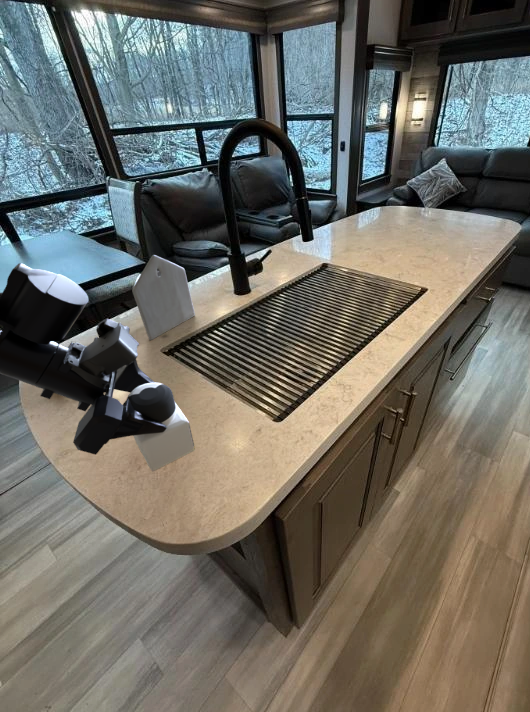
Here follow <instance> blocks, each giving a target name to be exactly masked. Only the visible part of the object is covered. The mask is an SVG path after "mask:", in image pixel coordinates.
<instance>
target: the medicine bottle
mask: <svg viewBox="0 0 530 712" xmlns="http://www.w3.org/2000/svg"><path fill="white" fill-rule="evenodd" d="M127 399H129V401H130V403H131V405H132V407H133V409H134V410H135V411H137V412H139V413H142V414H144V415H146V416H148V417H150V418H153V419H155V420H157V421H159V422H161V423H163V424H164V425H166V426H167V429H166V430H165V431H164V432H162V433H153V434H143V435H134V436H132V437H133V439H134V441H135V444H136V445H137V447H138V449H139V451H140V453H141V455H142V457H143V458H144V460H145V462H146V464H147V466H148V468H149V470H150V471H151V472H156V471H157V470H160V469H161V468H163V467H166V466H167V465H170V464H172V463H173V462H175V461H177V460H180V458H183V457H185V456H187V455H189V454H191V453H193V452H195V450H196V447H195V442H194V437H193V433H192V429H191V424H190V421H189V420H188V418H187V416H185V414H184V413H183V411H182V409H180V407H179V405H178V404H177V403H176V401H175V396H174V394H173V390H172V389H171V387H170V386H168V385H167V384H164V383H161V382H155V383H146V384H143V385H140V386H138V387H137V388H135V389H134V390H133V391H132V392H131V393H130V392H129V394H128V396H127V397H126V400H127Z"/></svg>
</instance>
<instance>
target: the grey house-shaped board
mask: <svg viewBox="0 0 530 712" xmlns="http://www.w3.org/2000/svg"><path fill="white" fill-rule="evenodd" d="M131 290H132V295H133V297H134V301H135V303H136V306H137V309H138V312H139V315H140V317H141V320H142V324H143V326H144V330H145V333H146V335H147V338H148V340H149V341H153V340H154V339H156V338H158V337H160V336H161V335H163V334H165V333H167V332H169V331H170V330H172V329H174V328H175V327H177V326H179V325H181V324H183V323H185V322H186V321H188V320H190V319H191V318H193V317H195V316H196V313H195V308H194V304H193V300H192V295H191V290H190V287H189V282H188V278H187V274H186V270H185V268H184V267H182V266H180V265H178V264H176V263H174V262H172V261H170V260H168V259H166V258H163V257H161V256H158V255H156V254H153V255H151V257H150V258H149V260H148V261H147V263H146V265H145V267H144V268H143V270H142V272H141V273H139V274H138V276H137V278H136V280H135V282H134V285H133V286H132V289H131Z"/></svg>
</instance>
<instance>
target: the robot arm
mask: <svg viewBox="0 0 530 712" xmlns="http://www.w3.org/2000/svg"><path fill="white" fill-rule="evenodd" d="M88 303H89V295H88V294H87V292H86V291H85V290H84V289H83V288H82V287H81V286H80V285H79V284H77V283H76V282H75V281H73V280H72V279H70V278H68V277H67V276H65V275H62V274H61V273H58V274H57V273H55V272H51V271H49V270H47V269H40V268H31V267H29V266H27V265H26V264H24V263H21V262H19V263H17V264H16V265H15V266H14V268H12V269H11V271H10V272H9V275H8V277H7V281H6V285H5V287H4V289H3V291H2V292H0V326H3V328H2V330H0V375H2V376H6V377H8V378H11V379H14V380H17V381H19V382H22V383H25V384H28V385H30V386H33V387H36V388H39V389H42V391H41V393H40V397H41V398H43V399H44V398H45V399H48V400H50V399H52V397H53V395H54V394H55V395H59V396H62V397H64V398H67V399H70V400H73V401H75V402H78V404H77V410H79V411H83V412H85V413H84V415H83V416H82V418H80V420H79V421H78V423H77V427H76V431H75V434H74V439H73V442H72V443H73V445H74V446H75V448H76V449H77V450H78V451H80V452H83V453H88V454H91V455H97V454H98V453H99V452H100V451H101V449H102V448H103V447H104V445H107V444H108V443H109V441H110V440H116V439H121V438H126V437H133V436H134V435H143V434H153V433H162V432H164V431H165V430H166V429H167V426H166V425H164V424H163V423H161V422H159V421H157V420H155V419H153V418H150V417H148V416H146V415H144V414H142V413H139V412H137V411H135V410H134V409H133V407H132V405H131V403H130V401H129V399H127V398H126V400H125V401H124V402H123V404H122V402H120V400H119V399H118V398H115V397H114V391H115V390H116V391H120V392H125V393H129V394H130V393H131V392H132V391H133V390H134V389H135V388H137V387H138V386H140V385H143V384H146V383H156V382H155V381H154V380H153V379H151V377H149V376H148V375H147V374H146V373H145V372H144V371H143V370H142V369H141V368H140V367H139V364H138V361H137V358H138V356H139V352H138V347H139V346H140V343H139V341H138V340H136V338H134V337H133V335H131V334H130V331H131V329H130V327H129V326H128V325H123V324H122V322H117V321H115V320H113V319H109V318H105V319H103V320H101V321H100V322H98V323H97V326H96V330H95V331H96V333H97V336H95V337H94V338H93V341H92V342H91V343H89V344H87V345H84V344H82V343H80V342H72V341H71V342H70V343H69V345H68V346H64V345H63V344H59V343H58V342H59V341H62V340H63V339H65V337H66V336H67V335H68V333H69V331H70V330H71V328H72V326H73V325H74V324H75V322H76V321H77V319H78V318H79V316H80V315H81V314H82V312H83V310H84V308H85V307H86V305H87V304H88Z"/></svg>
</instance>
